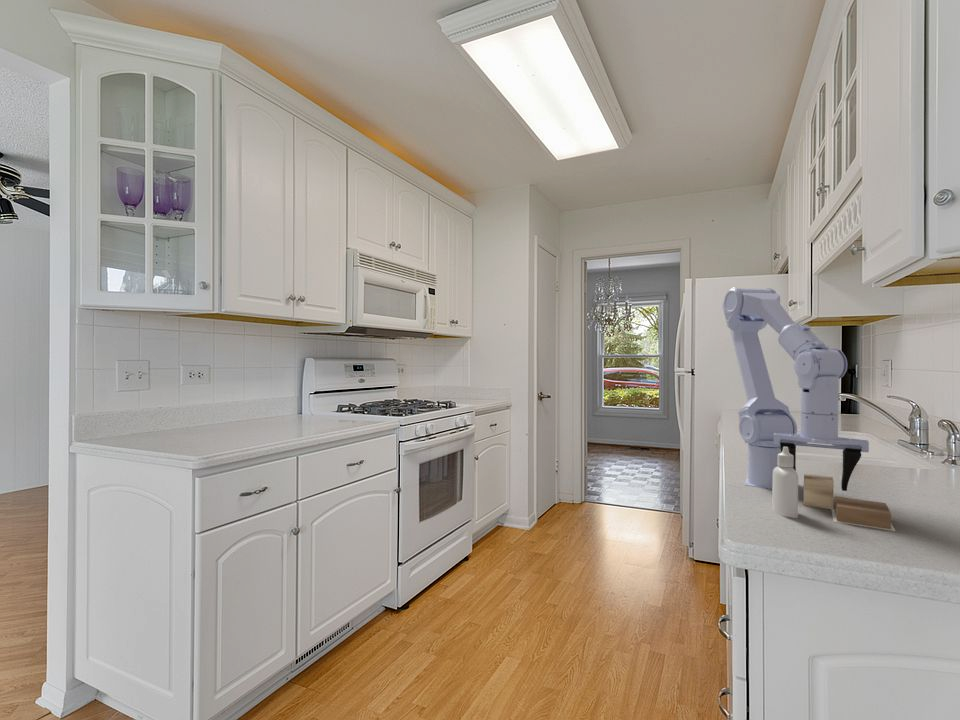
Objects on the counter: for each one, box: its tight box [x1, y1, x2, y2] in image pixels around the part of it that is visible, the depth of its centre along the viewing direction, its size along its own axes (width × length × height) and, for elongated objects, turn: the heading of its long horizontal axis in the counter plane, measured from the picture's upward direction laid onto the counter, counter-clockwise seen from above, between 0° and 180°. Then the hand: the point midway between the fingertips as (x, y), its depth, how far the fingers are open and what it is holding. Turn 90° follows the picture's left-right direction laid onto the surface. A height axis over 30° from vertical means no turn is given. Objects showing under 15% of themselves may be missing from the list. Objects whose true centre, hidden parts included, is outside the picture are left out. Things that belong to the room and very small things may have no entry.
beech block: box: [803, 473, 835, 510], centre depth 94 cm, size 4×4×5 cm
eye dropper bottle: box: [771, 447, 799, 519], centre depth 88 cm, size 4×6×12 cm
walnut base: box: [834, 495, 892, 529], centre depth 85 cm, size 7×7×2 cm
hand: (818, 486), depth 94 cm, fingers open, 7 cm apart
